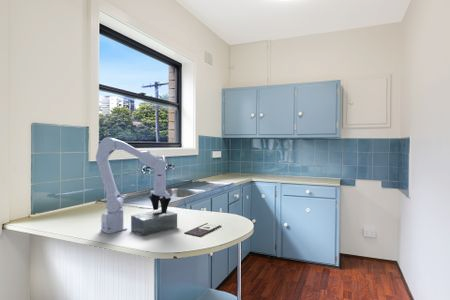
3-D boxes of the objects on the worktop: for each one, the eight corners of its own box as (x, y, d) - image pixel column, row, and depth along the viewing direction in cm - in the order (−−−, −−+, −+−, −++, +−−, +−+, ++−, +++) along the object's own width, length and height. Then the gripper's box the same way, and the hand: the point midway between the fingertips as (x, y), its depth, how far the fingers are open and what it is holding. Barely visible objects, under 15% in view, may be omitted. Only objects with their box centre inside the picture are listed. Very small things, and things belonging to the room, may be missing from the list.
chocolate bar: (184, 232, 129) (206, 223, 144) (184, 234, 129) (206, 224, 144) (200, 235, 124) (221, 225, 140) (200, 238, 124) (221, 227, 140)
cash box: (143, 236, 125) (143, 220, 125) (131, 230, 134) (131, 215, 134) (177, 227, 138) (177, 213, 138) (163, 222, 146) (163, 209, 146)
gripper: (175, 184, 135) (175, 212, 135) (159, 181, 145) (159, 207, 146) (162, 185, 130) (162, 214, 130) (146, 182, 140) (146, 209, 141)
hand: (159, 211), depth 138 cm, fingers open, 7 cm apart
